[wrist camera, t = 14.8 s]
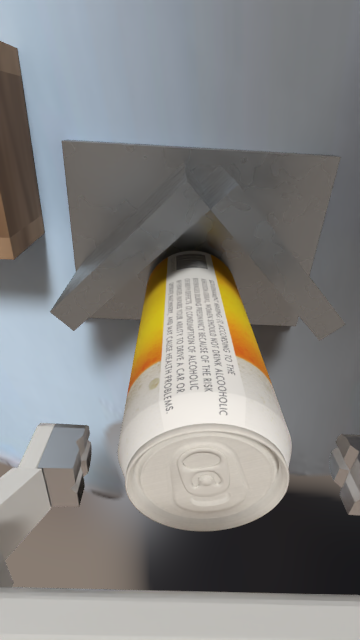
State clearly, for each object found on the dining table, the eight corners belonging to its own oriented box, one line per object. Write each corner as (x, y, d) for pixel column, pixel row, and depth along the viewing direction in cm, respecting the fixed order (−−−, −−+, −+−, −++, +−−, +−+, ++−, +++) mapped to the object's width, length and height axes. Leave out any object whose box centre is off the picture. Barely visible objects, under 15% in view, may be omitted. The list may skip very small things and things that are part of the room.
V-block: (333, 155, 21) (412, 174, 14) (292, 319, 26) (332, 390, 20) (66, 139, 20) (9, 150, 13) (83, 310, 26) (50, 380, 19)
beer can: (157, 331, 26) (137, 545, 13) (138, 255, 23) (86, 435, 10) (237, 318, 25) (301, 528, 12) (229, 239, 22) (302, 406, 9)
